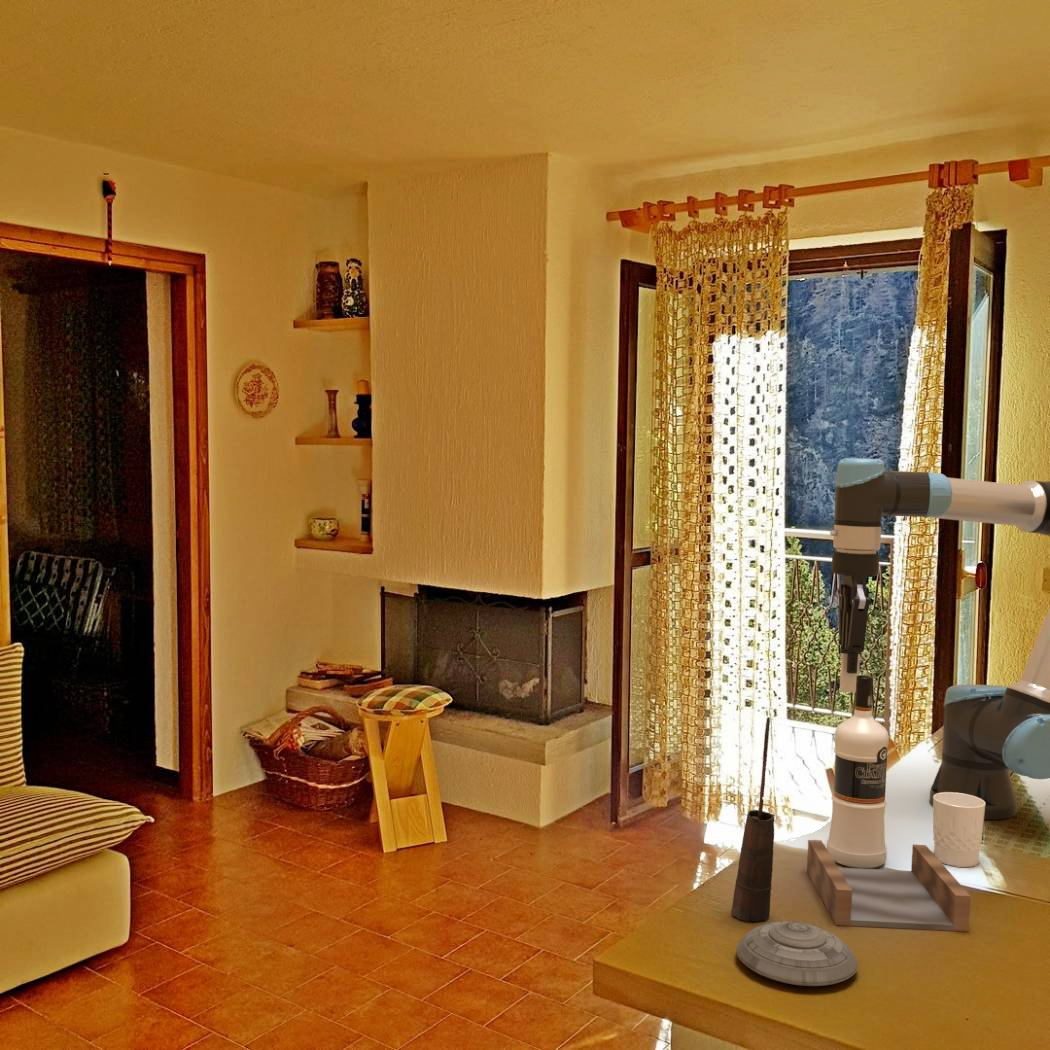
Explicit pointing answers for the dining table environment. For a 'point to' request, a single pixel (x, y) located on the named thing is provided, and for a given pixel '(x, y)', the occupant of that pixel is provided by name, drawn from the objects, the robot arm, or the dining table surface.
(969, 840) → the white cup
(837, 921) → the u rest
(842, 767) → the vodka
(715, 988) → the dining table surface
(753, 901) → the butter churn
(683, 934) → the dining table surface
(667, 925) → the dining table surface
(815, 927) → the flying saucer
